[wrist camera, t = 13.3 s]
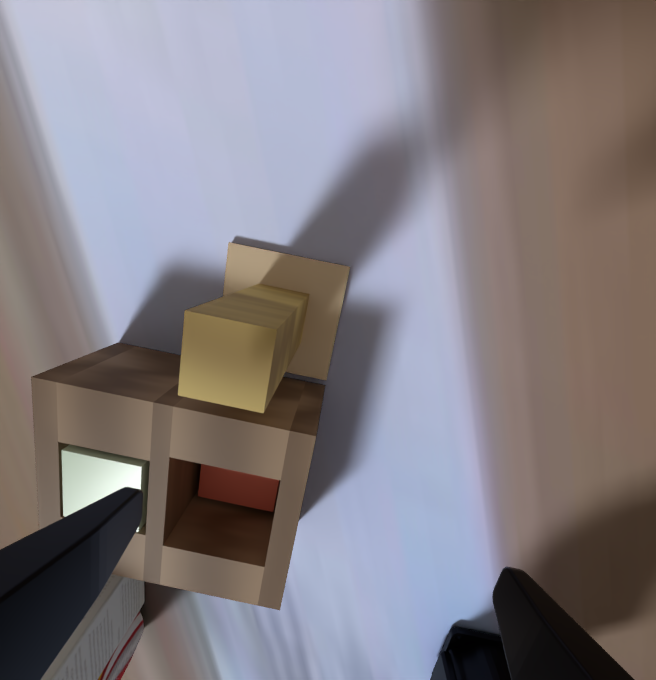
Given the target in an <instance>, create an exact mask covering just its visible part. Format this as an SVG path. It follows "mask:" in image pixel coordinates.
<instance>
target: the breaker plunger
mask: <svg viewBox="0 0 656 680" xmlns="http://www.w3.org/2000/svg"><path fill="white" fill-rule="evenodd" d="M280 481H281V480H276V479H271V478H267V477H262V476H257V475H252V474H247V473H243V472H238V471H233V470H228V469H224V468H219V467H214V466H209V465H204V464H201V471H200V480H199V489H198V496H199V497H204V498H208V499H213V500H218V501H223V502H227V503H232V504H237V505H242V506H246V507H251V508H256V509H261V510H266V511H270V512H273V511H274V507H275V504H276V500H277V497H278V492H279V486H280Z"/></svg>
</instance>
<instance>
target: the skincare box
mask: <svg viewBox="0 0 656 680" xmlns="http://www.w3.org/2000/svg"><path fill="white" fill-rule="evenodd" d="M144 601H145V599H144V581H141V580H136V579H131V578H127V577H122V576H117V575H112V574H111V576H110V577H109V579H108V581H107V583H106V584H105V586H104V588H103V589H102V591H101V593H100V594H99V596H98V597H97V599H96V600H95V602H94V603H93V605H92V606H91V608H90V609H89V611H88V612H87V614H86V615H85V617H84V618H83V619H82V621H81V622H80V624H79V625H78V627H77V628H76V629H75V631H74V632H73V634H72V635H71V637H70V638H69V640H68V641H67V642H66V644H65V645H64V647H63V648H62V650H61V651H60V652H59V654H58V655H57V657H56V658H55V660H54V661H53V663H52V664H51V665H50V667H49V668H48V670H47V671H46V673H45V674H44V675H43V677H42V678H41V680H98V678H99V676H100V675H101V673H102V671H103V670H104V668H105V666H106V665H107V663H108V661H109V660H110V658H111V656H112V655H113V653H114V651H115V650H116V648H117V646H118V645H119V643H120V642H121V640H122V638H123V637H124V635H125V633H126V632H127V630H128V629H129V627H130V625H131V624H132V622H133V621H134V619H135V617H136V616H137V614H138V612H139V611H140V609H141V607H142V605H143V604H144Z"/></svg>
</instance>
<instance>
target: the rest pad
mask: <svg viewBox="0 0 656 680" xmlns="http://www.w3.org/2000/svg"><path fill="white" fill-rule="evenodd" d="M349 270H350V267H349V266H344V265H339V264H334V263H329V262H324V261H319V260H314V259H309V258H304V257H300V256H295V255H290V254H285V253H280V252H275V251H270V250H265V249H260V248H255V247H250V246H245V245H241V244H236V243H230V242H229V244H228V253H227V262H226V271H225V280H224V290H223V296H226V295H229V294H231V293H234V292H237V291H240V290H243V289H245V288H248V287H251V286H254V285H256V284H264V285H269V286H273V287H278V288H283V289H288V290H293V291H297V292H302V293H307V294H310V295H309V301H308V306H307V311H306V317H305V322H304V328H303V333H302V339H301V343H300V345H299V347H298V349H297V351H296V353H295V355H294V357H293V358H292V360H291V362H290V364H289V366H288V368H287V370H286V372H288V373H293V374H297V375H302V376H307V377H312V378H317V379H322V380H327V375H328V371H329V366H330V361H331V356H332V351H333V347H334V342H335V337H336V332H337V327H338V323H339V318H340V313H341V308H342V304H343V299H344V294H345V289H346V284H347V280H348V275H349Z"/></svg>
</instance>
